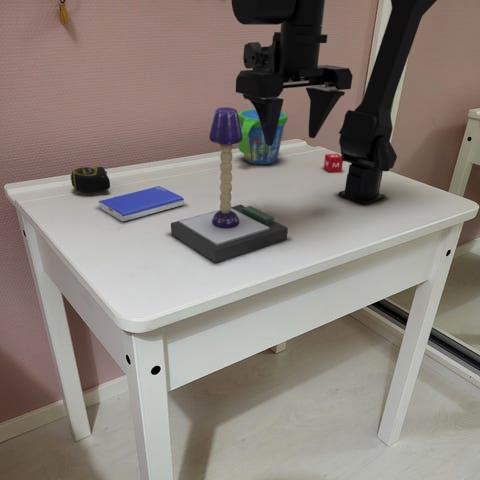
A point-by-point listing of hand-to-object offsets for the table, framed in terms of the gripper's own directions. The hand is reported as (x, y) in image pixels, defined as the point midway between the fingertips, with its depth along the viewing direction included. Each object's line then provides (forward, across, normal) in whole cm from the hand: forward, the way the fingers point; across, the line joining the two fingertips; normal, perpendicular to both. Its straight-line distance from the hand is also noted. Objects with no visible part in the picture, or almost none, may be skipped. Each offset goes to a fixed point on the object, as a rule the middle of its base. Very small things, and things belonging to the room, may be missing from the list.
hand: (291, 141), depth 76 cm
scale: (+13, +12, 0) cm, 18 cm away
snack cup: (+13, -20, -29) cm, 37 cm away
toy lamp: (+11, +13, 0) cm, 17 cm away
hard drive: (+14, +17, -19) cm, 29 cm away
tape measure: (+14, +20, -32) cm, 40 cm away
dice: (+13, -28, -15) cm, 34 cm away
